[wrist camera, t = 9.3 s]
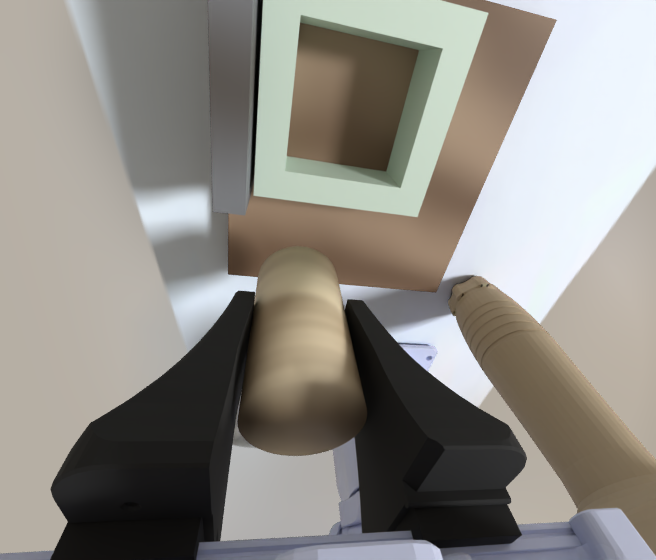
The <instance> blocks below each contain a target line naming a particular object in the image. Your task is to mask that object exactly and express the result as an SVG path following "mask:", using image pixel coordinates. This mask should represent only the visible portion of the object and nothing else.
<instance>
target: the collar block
mask: <svg viewBox="0 0 656 560" xmlns="http://www.w3.org/2000/svg"><path fill="white" fill-rule="evenodd" d="M487 16H488V13H487V12H483V11H479V10H476V9H472V8H468V7H464V6H461V5H457V4H453V3H449V2H446V1H442V0H263V12H262V33H261V53H260V73H259V94H258V114H257V134H256V155H255V175H254V196H260V197H267V198H275V199H283V200H290V201H298V202H306V203H313V204H321V205H328V206H336V207H344V208H351V209H359V210H367V211H374V212H382V213H389V214H397V215H405V216H412V217H418V214H419V211H420V208H421V206H422V203H423V200H424V197H425V194H426V191H427V188H428V185H429V183H430V180H431V177H432V174H433V171H434V168H435V165H436V163H437V160H438V157H439V154H440V151H441V148H442V145H443V142H444V140H445V137H446V134H447V131H448V128H449V125H450V122H451V120H452V117H453V114H454V111H455V108H456V105H457V102H458V99H459V97H460V94H461V91H462V88H463V85H464V82H465V79H466V77H467V74H468V71H469V68H470V65H471V62H472V59H473V56H474V54H475V51H476V48H477V45H478V42H479V39H480V36H481V34H482V31H483V28H484V25H485V22H486V19H487ZM300 23H304V24H309V25H313V26H317V27H322V28H326V29H330V30H334V31H339V32H343V33H347V34H352V35H356V36H360V37H365V38H369V39H373V40H377V41H382V42H386V43H390V44H395V45H399V46H403V47H407V48H412V49H416V50H419V52H418V56H417V60H416V63H415V67H414V71H413V74H412V78H411V82H410V86H409V89H408V93H407V97H406V100H405V104H404V108H403V112H402V115H401V119H400V123H399V126H398V130H397V134H396V137H395V141H394V145H393V149H392V152H391V156H390V160H389V163H388V167H387V171H386V172H385V171H379V170H372V169H366V168H360V167H353V166H347V165H340V164H334V163H327V162H321V161H315V160H308V159H302V158H295V157H289V156H287V147H288V137H289V127H290V117H291V107H292V97H293V87H294V77H295V67H296V57H297V47H298V37H299V27H300Z"/></svg>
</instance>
